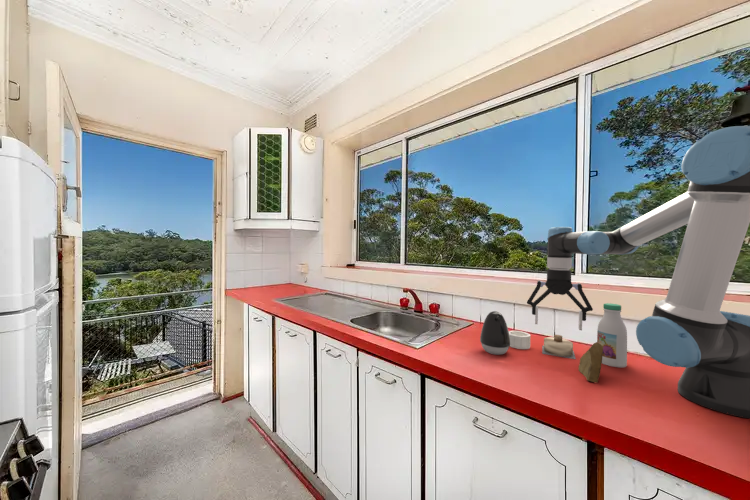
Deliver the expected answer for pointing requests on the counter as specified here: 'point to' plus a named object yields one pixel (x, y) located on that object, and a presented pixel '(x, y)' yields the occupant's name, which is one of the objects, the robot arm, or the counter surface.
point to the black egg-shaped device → (495, 334)
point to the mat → (556, 355)
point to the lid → (558, 346)
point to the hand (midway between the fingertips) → (557, 326)
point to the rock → (592, 362)
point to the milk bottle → (613, 336)
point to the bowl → (519, 339)
